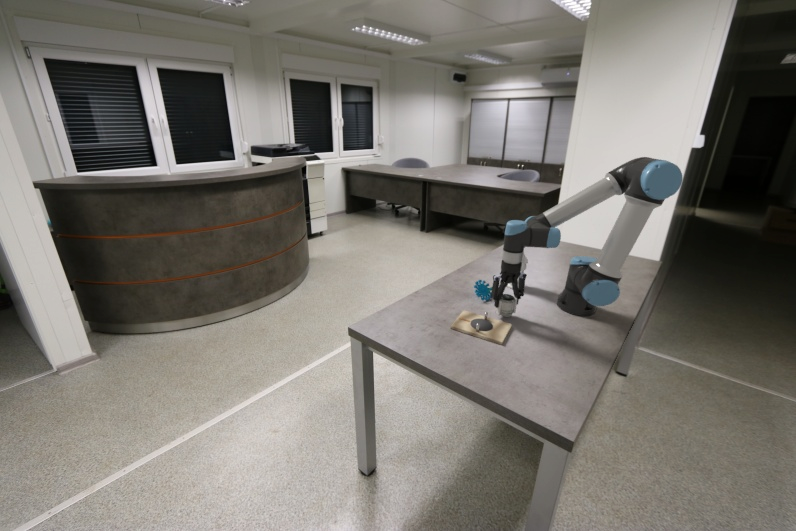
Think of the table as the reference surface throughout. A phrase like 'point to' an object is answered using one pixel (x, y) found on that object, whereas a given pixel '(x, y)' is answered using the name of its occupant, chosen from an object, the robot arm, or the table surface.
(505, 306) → the camera lens
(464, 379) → the table surface
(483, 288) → the gear
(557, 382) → the table surface
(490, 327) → the seat
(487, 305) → the table surface
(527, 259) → the white statue
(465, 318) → the mount
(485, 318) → the pins
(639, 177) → the robot arm
